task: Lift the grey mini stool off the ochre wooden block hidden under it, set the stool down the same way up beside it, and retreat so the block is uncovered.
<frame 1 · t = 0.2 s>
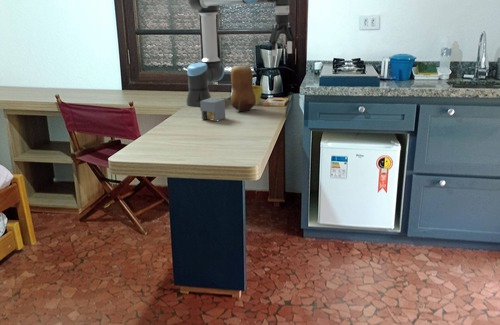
hand: (282, 54, 267), 29 cm above the countertop, fingers open, 13 cm apart
ochre block: (213, 115, 252), in the grey mini stool
butternut squash: (243, 111, 269), on the countertop
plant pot: (253, 104, 285), on the countertop
grey mini stool: (213, 119, 252), on the countertop
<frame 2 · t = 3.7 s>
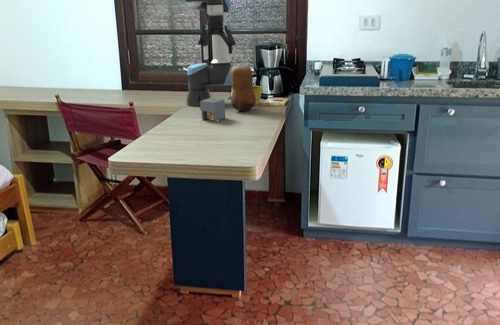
hand: (217, 60, 237), 31 cm above the countertop, fingers open, 13 cm apart
nothing on the countertop moved.
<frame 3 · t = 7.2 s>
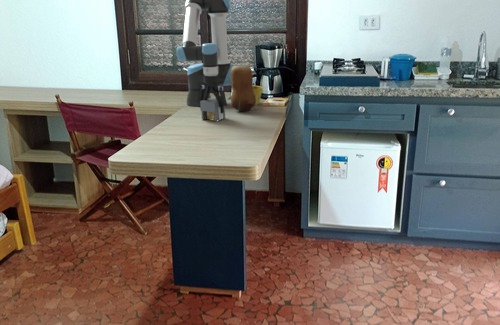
hand: (213, 118, 252), 0 cm above the countertop, fingers closed on grey mini stool, 9 cm apart
grey mini stool: (213, 119, 252), on the countertop, touching gripper
everything else where it was.
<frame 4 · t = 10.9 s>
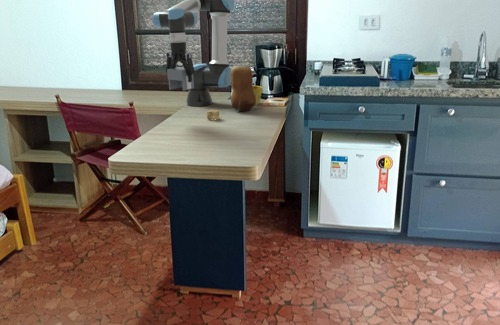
hand: (181, 87, 243), 18 cm above the countertop, fingers closed on grey mini stool, 9 cm apart
grey mini stool: (181, 88, 243), point 17 cm above the countertop, touching gripper
everything else where it was.
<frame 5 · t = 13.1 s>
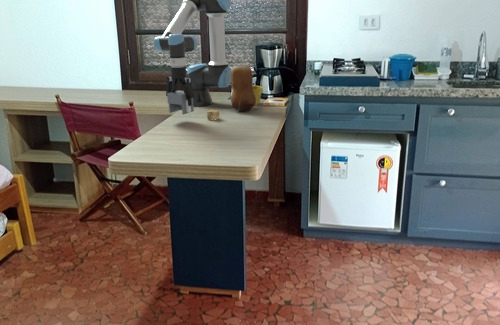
hand: (181, 111, 246), 6 cm above the countertop, fingers closed on grey mini stool, 9 cm apart
grey mini stool: (181, 112, 246), point 5 cm above the countertop, touching gripper
everything else where it was.
when the fingers open (2 cm above the countertop, at t = 14.7 s): grey mini stool drops 2 cm, on the countertop.
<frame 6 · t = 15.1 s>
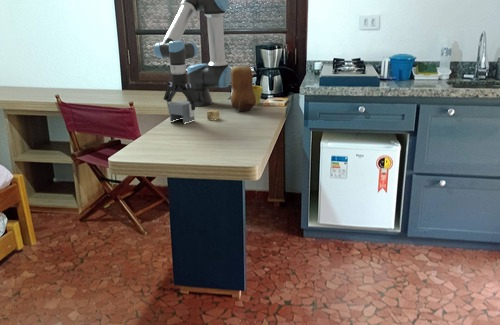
hand: (181, 115, 247), 4 cm above the countertop, fingers open, 13 cm apart
grey mini stool: (182, 122, 248), on the countertop
everything else where it was.
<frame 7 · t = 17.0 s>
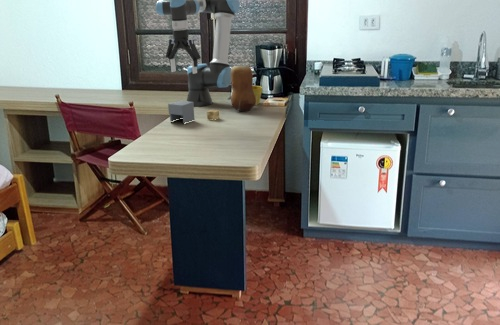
hand: (184, 72, 246), 24 cm above the countertop, fingers open, 13 cm apart
nothing on the countertop moved.
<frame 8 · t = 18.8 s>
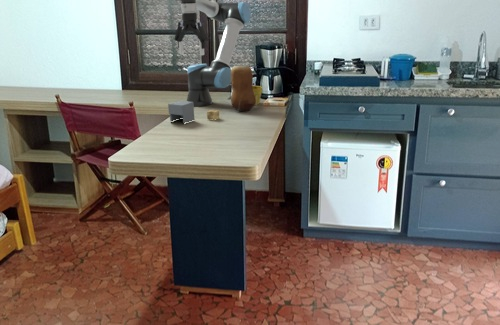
hand: (191, 54, 255), 32 cm above the countertop, fingers open, 13 cm apart
nothing on the countertop moved.
at the end: grey mini stool inside the target area (0.0 cm from its centre), on the countertop; grey mini stool tilted 0°; ochre block moved 0.1 cm from its start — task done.
